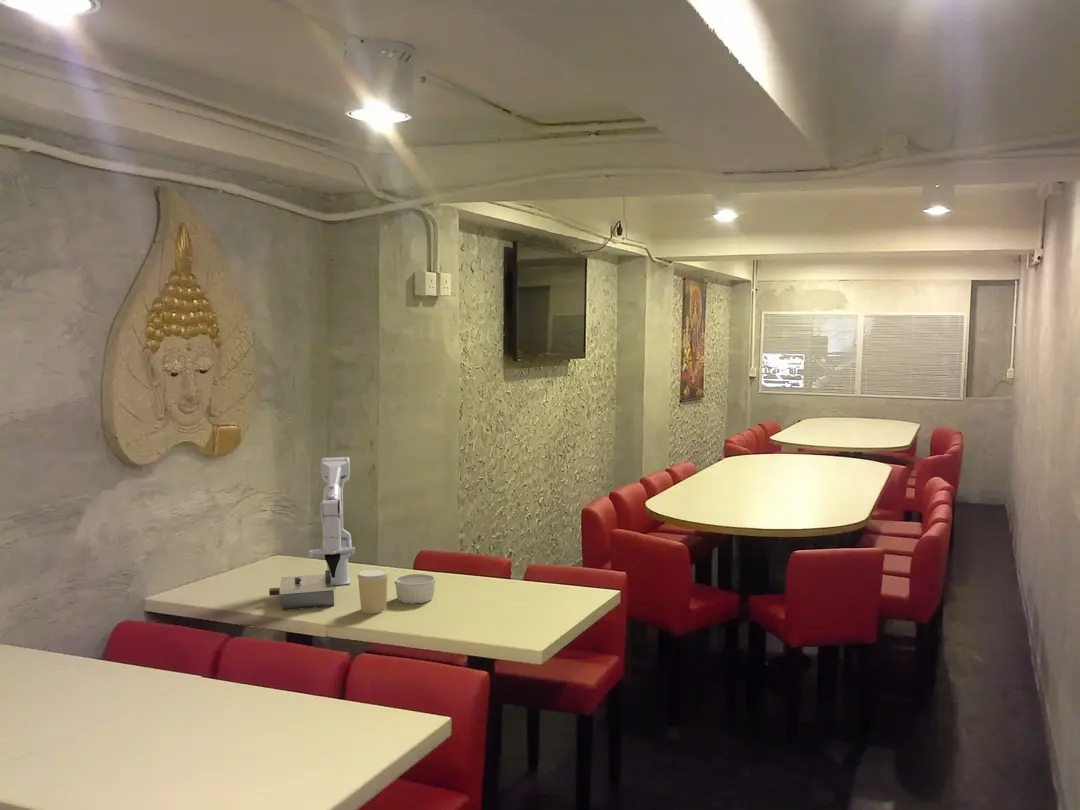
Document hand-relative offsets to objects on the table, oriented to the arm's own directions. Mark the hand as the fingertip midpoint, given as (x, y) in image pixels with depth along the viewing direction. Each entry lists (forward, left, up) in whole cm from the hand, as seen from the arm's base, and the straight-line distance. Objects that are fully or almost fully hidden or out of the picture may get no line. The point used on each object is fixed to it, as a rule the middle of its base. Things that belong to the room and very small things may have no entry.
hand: (333, 576), depth 286 cm
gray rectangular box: (0, -10, -7) cm, 13 cm away
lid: (0, -8, -2) cm, 8 cm away
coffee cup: (+16, +12, -8) cm, 21 cm away
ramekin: (+8, +26, -8) cm, 28 cm away
